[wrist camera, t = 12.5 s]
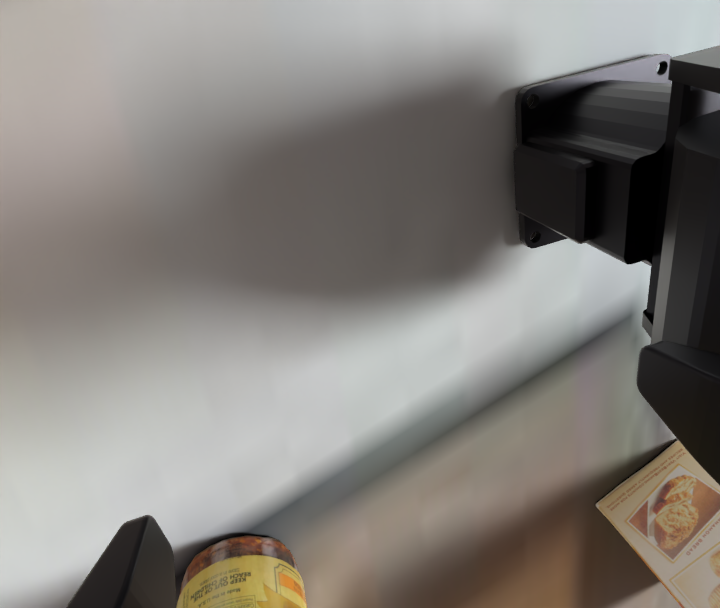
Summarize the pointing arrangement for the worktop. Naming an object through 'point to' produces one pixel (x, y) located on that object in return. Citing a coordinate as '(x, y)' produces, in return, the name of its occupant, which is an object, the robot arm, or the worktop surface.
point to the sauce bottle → (243, 576)
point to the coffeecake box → (672, 524)
